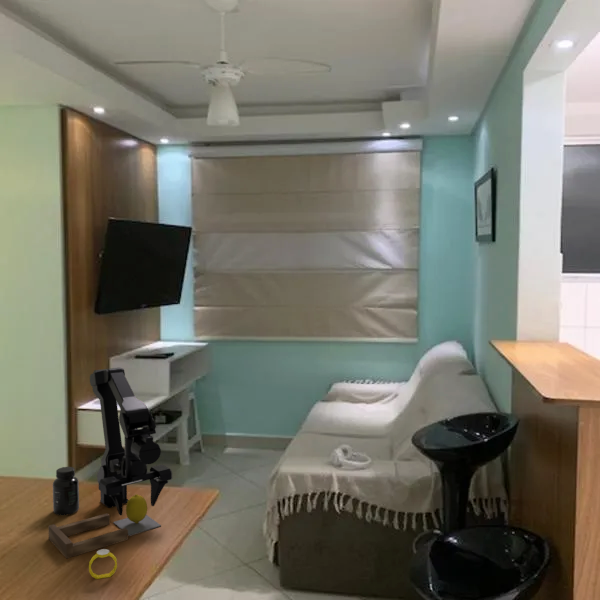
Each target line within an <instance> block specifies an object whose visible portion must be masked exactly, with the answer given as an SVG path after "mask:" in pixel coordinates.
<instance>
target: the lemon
mask: <svg viewBox="0 0 600 600" xmlns="http://www.w3.org/2000/svg"><path fill="white" fill-rule="evenodd" d="M147 513H148V503H147V500H146V498H145V497H143V496H142V495H140V494H137V493H136V494H134V495H132V496H131V497H130V498H129V499H128V502H127V503H126V507H125V514H126V516H127V518H128V519H129V520H130V521H132V522H135V523H136V524H137V523H139V521H141V520H143V519H144V518H145V516H146V515H147Z"/></svg>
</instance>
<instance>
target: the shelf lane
mask: <svg viewBox="0 0 600 600" xmlns="http://www.w3.org/2000/svg"><path fill="white" fill-rule="evenodd" d="M108 525H111V522H110V514H109V513H107V512H106V513H103V514H98V515H95V516H92V517H89V518H86V519H82V520H77V521H75V522H71V523H67V524H63V525H60V526H57V525H56V524H54V523H53V524H49V525H48V526H47V527H48V529H47V531H48V540H49V541H50V542H51V544H52V545H53V546H54V547H56V548H57V550H58V551H59V552H60V554H62V555H63V556H64V557H65V558H66V559H69V558H70V559H71V558H73V557H76V556H79V555H82V554H85V553H88V552H92V551H95V550H100V549H102V548H105V547H107V546H111V545H114V544H118V543H121V542H124V541H127V540H129V536H128V530H127V529H126V528H123V529H120V528H119V529H117V530H114V531H110V532H107V533H104V534H100V535H96V536H93V537H90V538H87V539H83V540H80V541H76V542H73V541H72V540H71V539H69V538H68V537H70V536H73V534H74V535H77V534H80V533H79V532H81V533H84V532H87V531H90V529H91V530H94V529H98V528H101V527H104V526H108ZM86 530H87V531H86ZM83 531H84V532H83ZM76 533H77V534H76Z"/></svg>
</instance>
